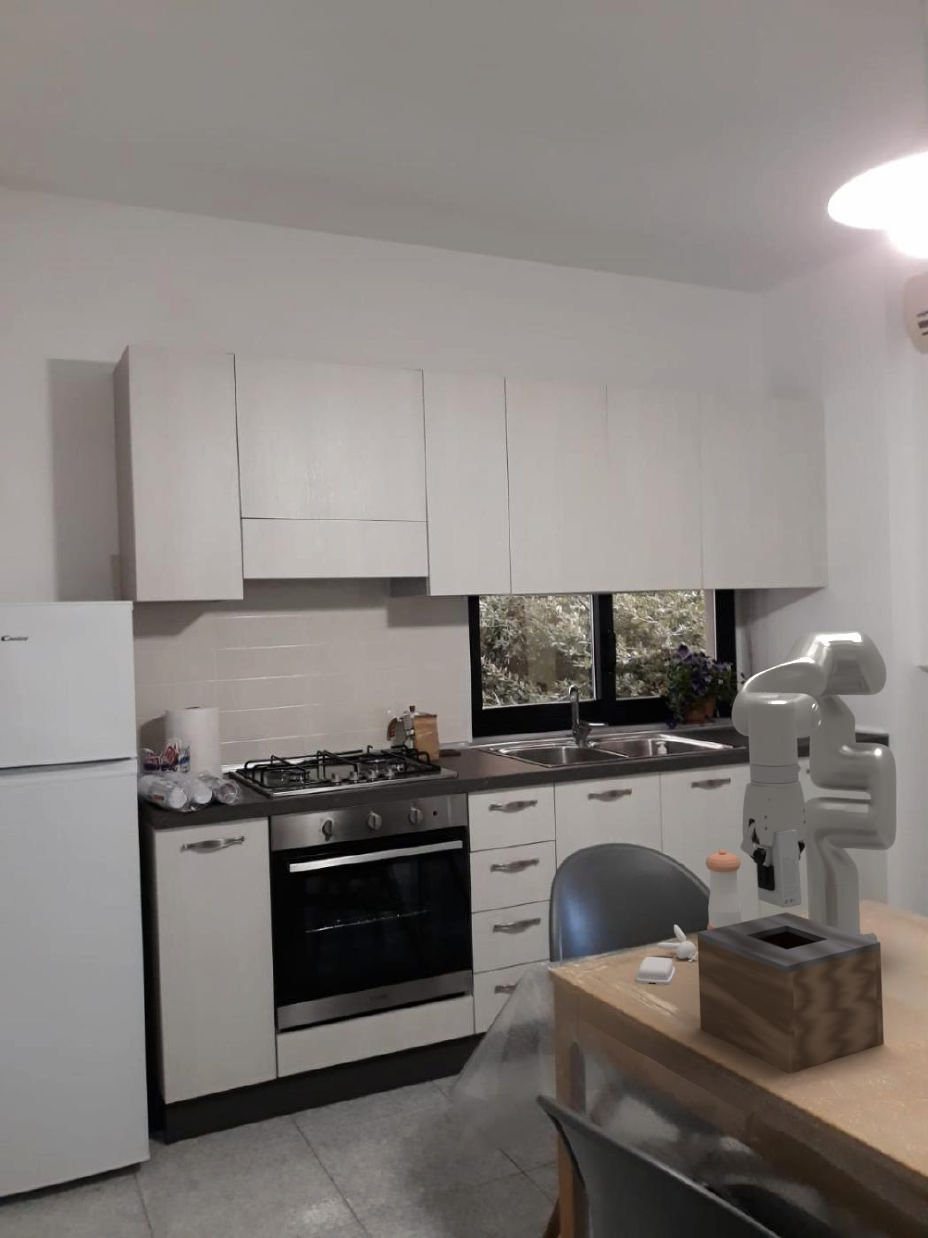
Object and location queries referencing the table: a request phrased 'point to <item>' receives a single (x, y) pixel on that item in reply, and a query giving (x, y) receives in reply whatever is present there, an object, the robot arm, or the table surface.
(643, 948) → the table surface
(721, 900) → the pepper shaker
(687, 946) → the rabbit figurine
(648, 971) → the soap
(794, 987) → the slot box
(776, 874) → the skincare box
